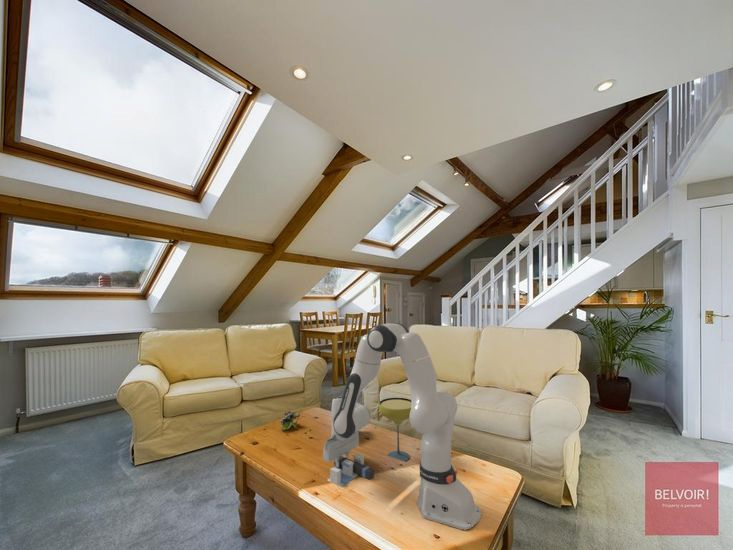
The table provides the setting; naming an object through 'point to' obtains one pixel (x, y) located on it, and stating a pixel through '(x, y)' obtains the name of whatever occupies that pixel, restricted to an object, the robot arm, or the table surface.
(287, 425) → the passion flower
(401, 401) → the cocktail glass
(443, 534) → the table surface
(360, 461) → the grey and blue pillars
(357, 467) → the long dark grey plank
